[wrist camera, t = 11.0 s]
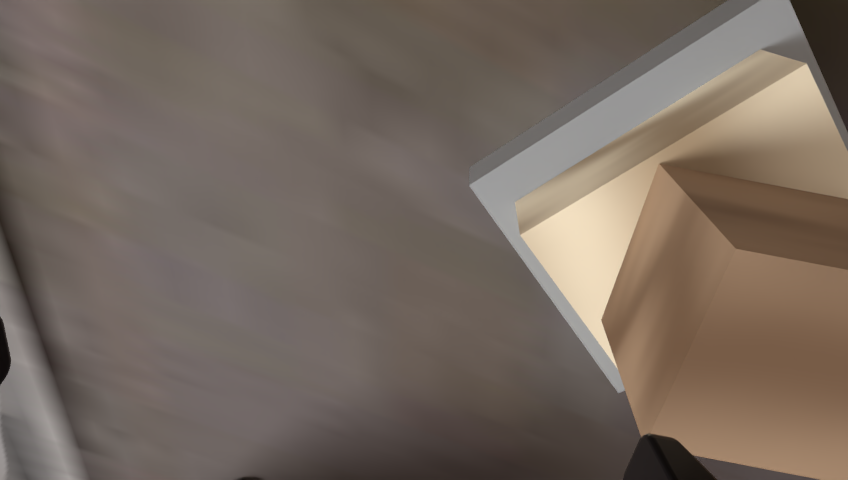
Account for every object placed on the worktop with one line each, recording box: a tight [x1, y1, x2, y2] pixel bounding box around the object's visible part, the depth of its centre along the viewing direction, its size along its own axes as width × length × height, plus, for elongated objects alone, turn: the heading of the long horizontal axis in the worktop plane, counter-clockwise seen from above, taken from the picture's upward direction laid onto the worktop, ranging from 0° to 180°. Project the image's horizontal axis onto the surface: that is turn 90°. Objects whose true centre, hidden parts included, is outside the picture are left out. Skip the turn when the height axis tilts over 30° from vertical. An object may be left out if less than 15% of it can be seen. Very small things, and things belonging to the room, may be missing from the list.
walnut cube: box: [601, 164, 848, 480], centre depth 14 cm, size 5×5×5 cm
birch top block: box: [515, 49, 848, 369], centre depth 17 cm, size 8×8×2 cm
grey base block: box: [469, 0, 848, 393], centre depth 19 cm, size 10×10×2 cm
